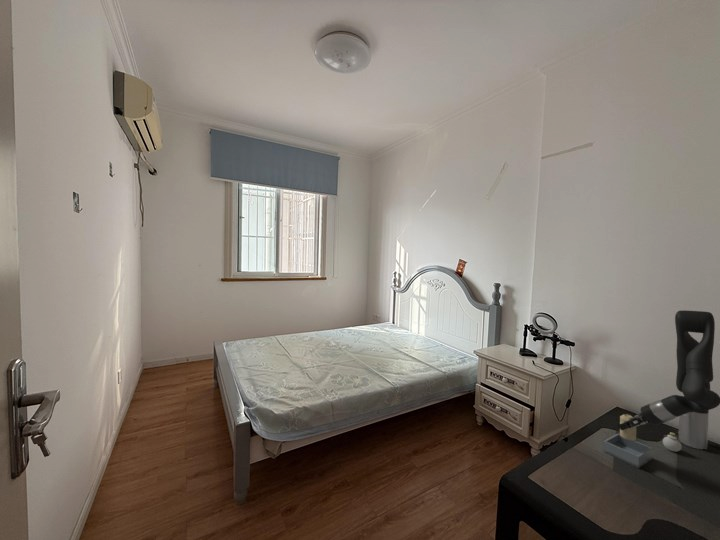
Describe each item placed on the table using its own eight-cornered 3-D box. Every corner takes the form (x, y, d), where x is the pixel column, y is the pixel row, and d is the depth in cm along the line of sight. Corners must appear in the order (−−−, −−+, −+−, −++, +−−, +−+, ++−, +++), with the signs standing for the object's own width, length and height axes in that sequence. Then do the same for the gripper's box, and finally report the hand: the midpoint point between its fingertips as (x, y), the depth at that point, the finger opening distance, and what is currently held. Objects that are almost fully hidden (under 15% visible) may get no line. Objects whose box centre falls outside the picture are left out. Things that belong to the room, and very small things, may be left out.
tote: (617, 443, 141) (617, 433, 141) (652, 459, 130) (652, 448, 130) (602, 451, 135) (603, 440, 135) (638, 468, 124) (638, 457, 124)
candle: (639, 441, 129) (639, 419, 129) (624, 439, 130) (625, 417, 130) (630, 434, 135) (631, 413, 134) (616, 433, 136) (617, 411, 136)
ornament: (664, 444, 141) (664, 424, 141) (686, 452, 135) (687, 431, 135) (661, 449, 138) (661, 428, 137) (684, 457, 131) (685, 436, 131)
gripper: (657, 399, 129) (623, 414, 140) (643, 406, 122) (608, 421, 133) (674, 417, 124) (637, 431, 135) (660, 425, 118) (622, 438, 128)
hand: (623, 426), depth 134 cm, fingers closed on candle, 5 cm apart
